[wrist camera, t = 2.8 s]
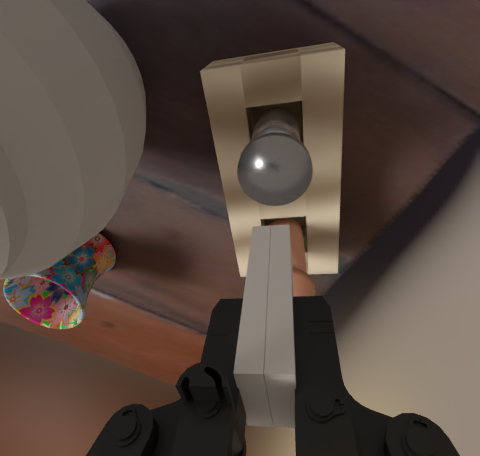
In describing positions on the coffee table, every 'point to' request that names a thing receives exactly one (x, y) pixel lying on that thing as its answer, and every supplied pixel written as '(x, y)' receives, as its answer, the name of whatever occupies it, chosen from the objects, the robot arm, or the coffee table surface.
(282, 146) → the grey plug
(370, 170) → the coffee table surface
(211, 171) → the coffee table surface
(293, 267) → the terracotta plug
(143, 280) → the coffee table surface
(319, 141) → the block
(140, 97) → the vase
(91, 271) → the mug
